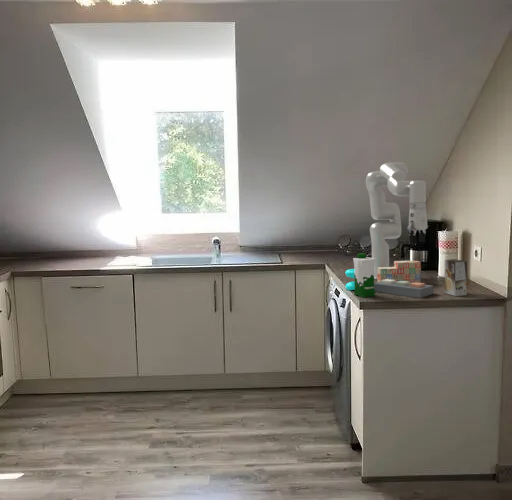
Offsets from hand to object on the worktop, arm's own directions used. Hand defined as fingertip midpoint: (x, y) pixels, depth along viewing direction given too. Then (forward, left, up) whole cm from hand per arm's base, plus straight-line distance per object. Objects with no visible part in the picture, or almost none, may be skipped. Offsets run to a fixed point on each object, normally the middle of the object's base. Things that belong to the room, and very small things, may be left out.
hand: (417, 242), depth 259 cm
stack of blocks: (-17, +11, -24) cm, 32 cm away
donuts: (-27, -14, -24) cm, 39 cm away
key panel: (-4, -7, -24) cm, 25 cm away
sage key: (-4, -7, -22) cm, 23 cm away
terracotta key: (+4, -7, -22) cm, 23 cm away
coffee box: (+17, +5, -24) cm, 30 cm away
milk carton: (-14, -24, -24) cm, 37 cm away
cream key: (-12, -7, -22) cm, 26 cm away
